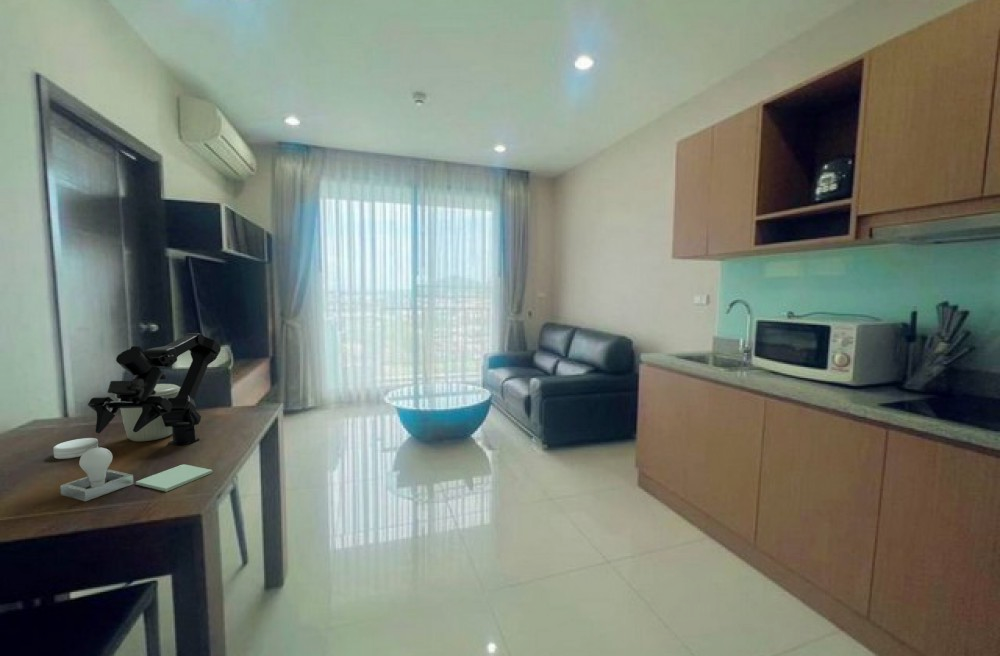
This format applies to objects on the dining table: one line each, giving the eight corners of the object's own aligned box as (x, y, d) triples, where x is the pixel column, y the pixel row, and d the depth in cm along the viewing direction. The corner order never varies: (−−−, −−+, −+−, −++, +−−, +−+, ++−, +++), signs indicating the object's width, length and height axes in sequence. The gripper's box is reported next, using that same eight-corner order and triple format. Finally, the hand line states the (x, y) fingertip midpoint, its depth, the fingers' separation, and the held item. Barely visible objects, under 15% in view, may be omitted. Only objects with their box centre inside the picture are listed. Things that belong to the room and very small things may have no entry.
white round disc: (55, 453, 130) (54, 442, 130) (98, 445, 137) (98, 435, 137) (52, 462, 123) (51, 451, 123) (98, 453, 130) (97, 443, 130)
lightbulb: (75, 496, 102) (71, 453, 101) (92, 485, 108) (89, 445, 107) (104, 493, 104) (101, 451, 103) (120, 482, 109) (117, 443, 109)
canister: (174, 442, 140) (171, 381, 138) (107, 449, 133) (102, 385, 132) (192, 426, 157) (189, 372, 155) (132, 431, 150) (129, 375, 148)
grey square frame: (61, 494, 103) (60, 485, 102) (109, 478, 112) (109, 469, 112) (85, 501, 99) (84, 491, 99) (133, 483, 109) (132, 474, 109)
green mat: (135, 484, 109) (135, 481, 108) (183, 466, 120) (183, 464, 120) (166, 491, 105) (166, 488, 105) (212, 472, 116) (212, 470, 116)
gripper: (90, 369, 114) (56, 419, 104) (163, 368, 117) (136, 417, 106) (115, 390, 123) (85, 438, 113) (182, 389, 125) (159, 436, 115)
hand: (115, 432), depth 111 cm, fingers open, 9 cm apart
